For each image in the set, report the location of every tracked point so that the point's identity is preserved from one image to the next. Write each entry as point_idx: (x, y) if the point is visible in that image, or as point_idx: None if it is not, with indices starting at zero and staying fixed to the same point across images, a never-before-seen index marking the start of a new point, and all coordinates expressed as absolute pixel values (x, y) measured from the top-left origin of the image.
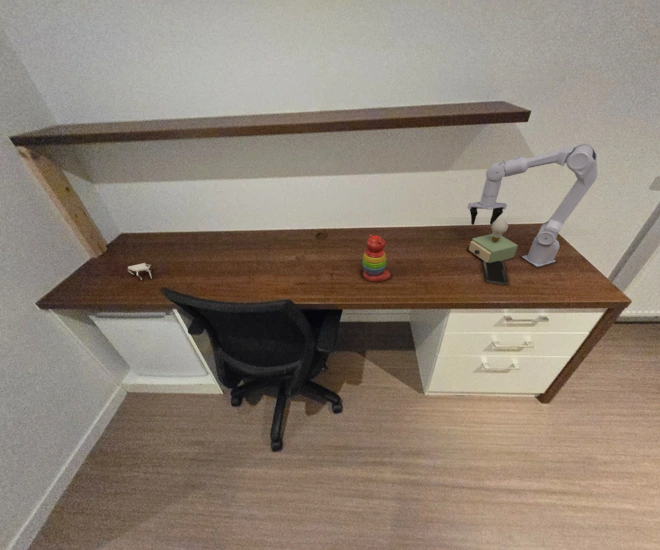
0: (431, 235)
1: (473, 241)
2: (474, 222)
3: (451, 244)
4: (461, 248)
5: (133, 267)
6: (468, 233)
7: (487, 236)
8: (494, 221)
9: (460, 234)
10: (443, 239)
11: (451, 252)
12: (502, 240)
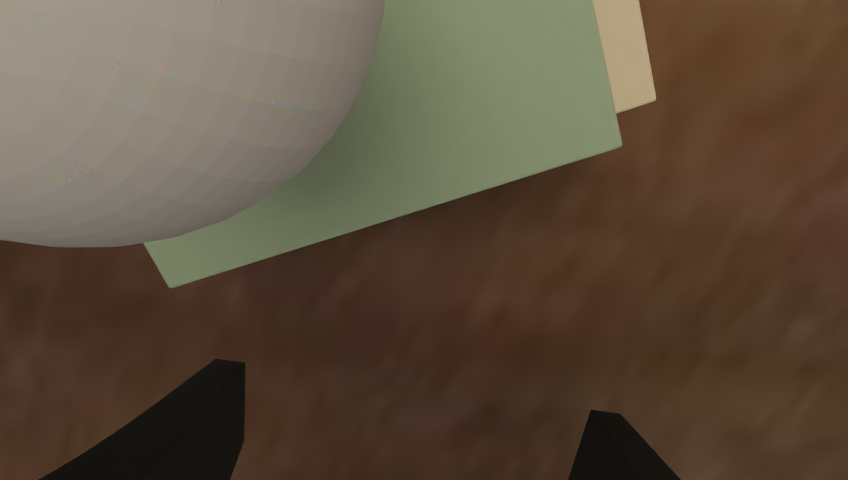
0: (830, 447)
1: (613, 93)
2: (620, 448)
3: (717, 257)
4: (646, 159)
5: None
6: (426, 441)
7: (347, 184)
8: (236, 108)
9: (517, 433)
10: (749, 364)
11: (823, 75)
12: None
